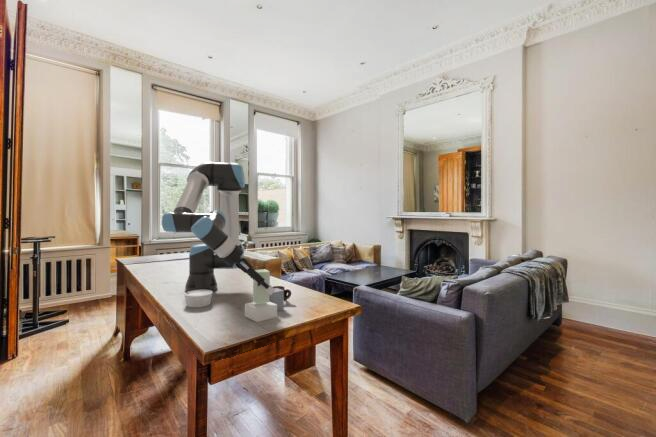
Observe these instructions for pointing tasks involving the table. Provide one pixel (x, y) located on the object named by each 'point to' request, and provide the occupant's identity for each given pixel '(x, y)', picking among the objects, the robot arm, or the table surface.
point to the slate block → (277, 298)
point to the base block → (260, 311)
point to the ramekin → (198, 298)
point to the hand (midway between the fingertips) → (270, 290)
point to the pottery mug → (284, 292)
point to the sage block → (258, 291)
